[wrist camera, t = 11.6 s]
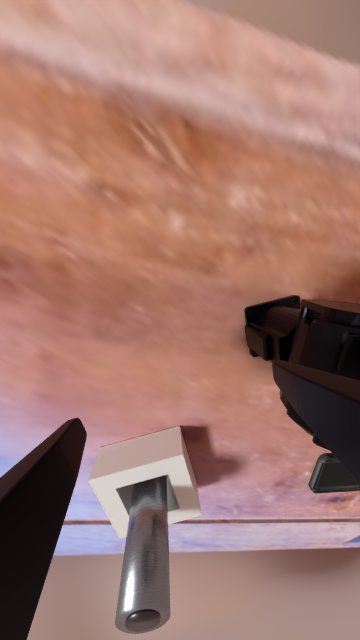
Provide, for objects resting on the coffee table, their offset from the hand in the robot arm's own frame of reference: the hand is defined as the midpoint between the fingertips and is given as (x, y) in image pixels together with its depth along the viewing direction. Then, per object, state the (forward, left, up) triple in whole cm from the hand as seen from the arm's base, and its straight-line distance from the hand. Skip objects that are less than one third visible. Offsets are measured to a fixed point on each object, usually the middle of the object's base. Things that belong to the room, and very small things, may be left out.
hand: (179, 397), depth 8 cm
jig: (+8, +21, -13) cm, 26 cm away
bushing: (+8, +21, -13) cm, 26 cm away
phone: (-24, +34, -14) cm, 44 cm away
